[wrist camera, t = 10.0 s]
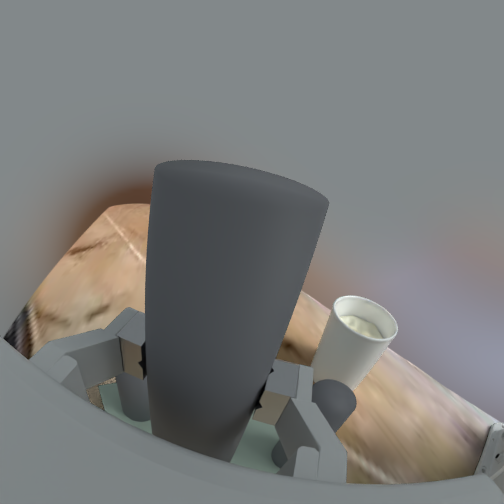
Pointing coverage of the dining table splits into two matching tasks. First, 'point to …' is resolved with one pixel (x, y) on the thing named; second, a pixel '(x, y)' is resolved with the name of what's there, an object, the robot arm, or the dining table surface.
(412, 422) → the dining table surface
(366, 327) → the candle holder
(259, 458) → the stool seat
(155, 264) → the stool leg
